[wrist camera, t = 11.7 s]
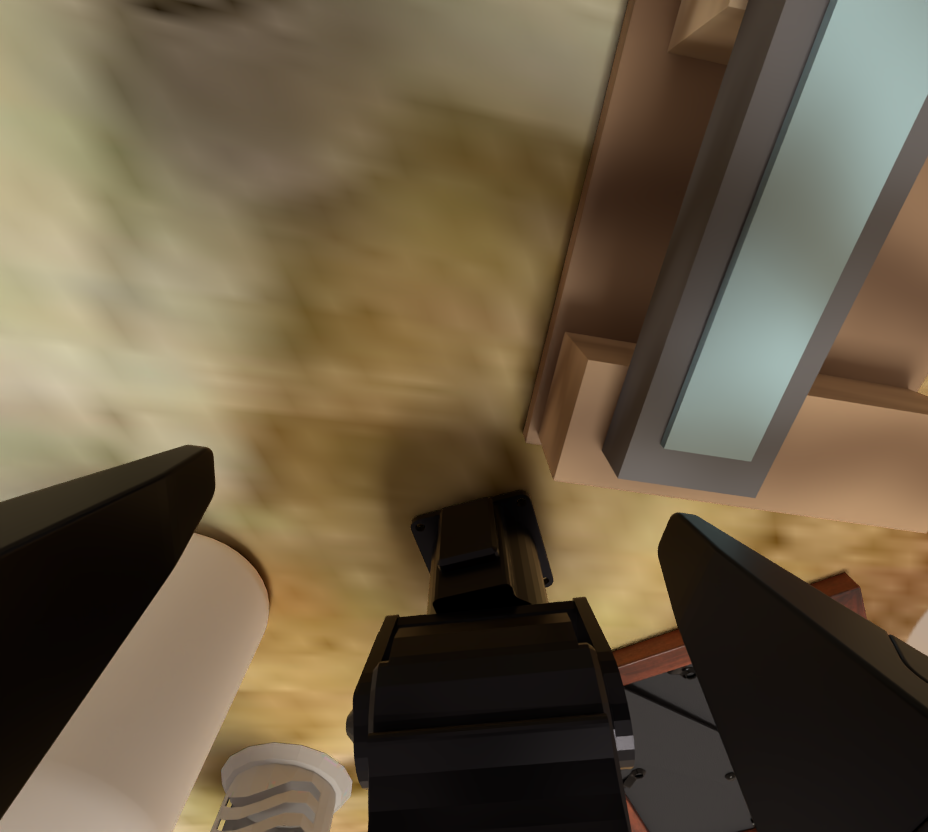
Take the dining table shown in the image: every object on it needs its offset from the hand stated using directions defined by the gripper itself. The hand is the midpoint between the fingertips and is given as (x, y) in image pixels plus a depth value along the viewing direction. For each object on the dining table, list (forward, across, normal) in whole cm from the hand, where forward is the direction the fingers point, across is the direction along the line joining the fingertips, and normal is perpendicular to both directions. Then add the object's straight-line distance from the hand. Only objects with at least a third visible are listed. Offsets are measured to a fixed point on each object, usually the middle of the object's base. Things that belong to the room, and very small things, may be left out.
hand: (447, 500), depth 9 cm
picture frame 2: (+14, -24, +26) cm, 38 cm away
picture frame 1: (+8, -9, -6) cm, 13 cm away
